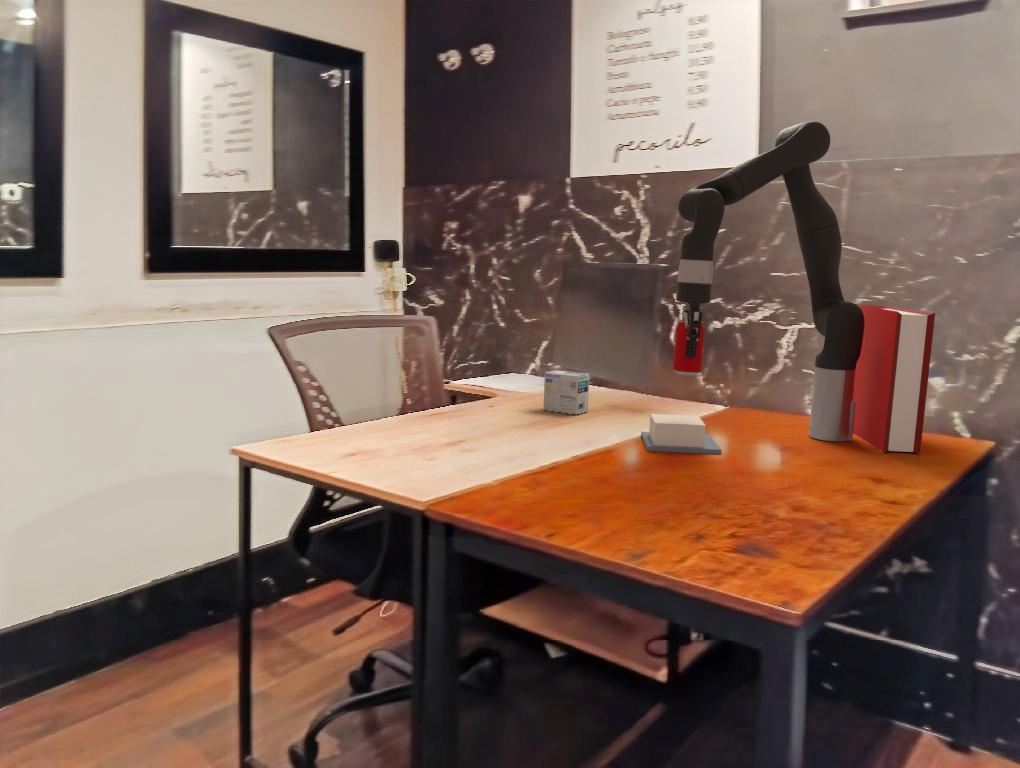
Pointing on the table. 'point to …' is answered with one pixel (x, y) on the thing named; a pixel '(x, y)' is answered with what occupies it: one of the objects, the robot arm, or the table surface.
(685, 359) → the beverage can
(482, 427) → the table surface
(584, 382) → the light bulb box
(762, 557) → the table surface
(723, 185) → the robot arm
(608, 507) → the table surface
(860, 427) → the book
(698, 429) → the butter dish
